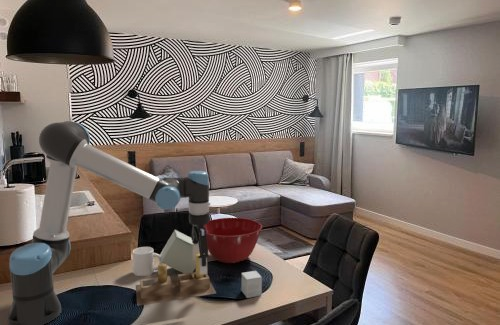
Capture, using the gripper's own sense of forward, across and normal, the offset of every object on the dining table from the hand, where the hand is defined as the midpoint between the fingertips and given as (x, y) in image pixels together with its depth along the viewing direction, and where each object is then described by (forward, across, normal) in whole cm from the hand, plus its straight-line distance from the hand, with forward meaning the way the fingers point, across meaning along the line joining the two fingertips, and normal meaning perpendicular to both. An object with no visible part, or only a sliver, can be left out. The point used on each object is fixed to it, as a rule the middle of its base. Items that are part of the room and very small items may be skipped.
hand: (199, 266), depth 142 cm
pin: (+8, 0, 0) cm, 8 cm away
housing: (+5, +16, +7) cm, 19 cm away
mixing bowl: (+9, +25, -20) cm, 33 cm away
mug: (+9, +19, +18) cm, 28 cm away
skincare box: (+9, -10, -18) cm, 22 cm away
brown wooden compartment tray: (+9, 0, +10) cm, 13 cm away
